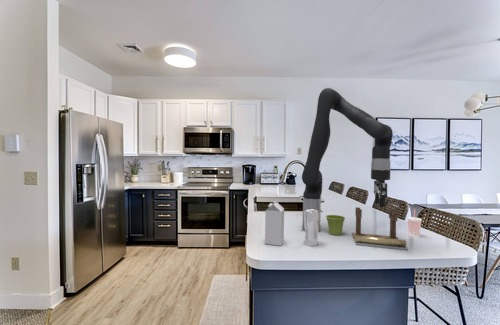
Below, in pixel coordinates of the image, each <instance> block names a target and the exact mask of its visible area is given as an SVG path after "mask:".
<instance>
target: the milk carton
mask: <svg viewBox="0 0 500 325" xmlns="http://www.w3.org/2000/svg"><path fill="white" fill-rule="evenodd" d="M267 207H268V208H267V209H265V218H264V220H265V221H264V222H265V223H264V224H265V226H264V244H265V245H270V246H277V247H278V246H282V245H283V243H284V241H285V240H284V239H285V238H284V237H285V235H284V234H285V208H284V207H283V206H282V205H281V204H279V202H278V200H277V199H276V200H274V201H273V202H270V203H269V204H268V205H267Z"/></svg>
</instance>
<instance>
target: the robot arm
mask: <svg viewBox="0 0 500 325" xmlns="http://www.w3.org/2000/svg"><path fill="white" fill-rule="evenodd" d="M331 110H333V111H335V112H338V113H339V114H342V115H343V116H344V117H345V118H347V120H349V121H350V122H351V123H352V124H354V125H356V126H357V127H358V128H360V129H361V130H362V131H364V132H365V133H366V134H368V136H370V137H371V138H373V139H375V143H374V146H373V147H372V150H371V164H370V179H371V180H373V194H374V203H375V204H376V205H378V206H379V208H385V207H386V199H387V198H388V183H387V182H386V181H389V180H391V146H392V142H393V141H392V140H393V134H394V132H393V129H392V127H391V126H390V125H388V124H385V123H382V122H381V121H379V120H377V119H375V118H374V116H372V115H371V114H369V113H367V111H364V110H363V109H361V108H360V107H357V106H355V105H353V104H351V103H350V102H349V101H348V100H347V99H345V97H343V96H342V95H341V93H339V92H338V91H336V90H335V89H333V88H331V87H326V88H323V89H322V90H321V91H320V93H319V95H318V98H317V107H316V114H315V119H314V124H313V129H312V133H311V137H310V142H309V148H308V151H307V158H306V161H305V165H304V168H303V171H302V174H301V179H302V180H301V181H302V183H303V184H304V185H305V188H304V191H303V193H302V194H303V195H302V200H303V201H302V203H303V204H302V231H305V228H304V210H306V209H315V210H319V214H320V219H321V210H322V208H321V207H322V206H321V202H322V200H321V199H322V192H323V175H322V174H323V173H322V172H321V171H320V167H321V166H320V165H321V161H322V159H323V157H324V155H325V153H326V151H327V149H328V146H329V142H330V137H331V123H330V114H331ZM318 232H321V223H320V224H319V230H318Z"/></svg>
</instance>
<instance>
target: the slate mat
mask: <svg viewBox="0 0 500 325" xmlns="http://www.w3.org/2000/svg"><path fill="white" fill-rule="evenodd" d="M353 242H354V244H355V246H362V247H372V248H379V249H380V248H381V249H390V250H398V251H399V250H400V251H408V248H407V246H406V247H399V246H389V245H380V244H370V243H361V242H355V239H353Z"/></svg>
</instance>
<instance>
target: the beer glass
mask: <svg viewBox="0 0 500 325" xmlns="http://www.w3.org/2000/svg"><path fill="white" fill-rule="evenodd" d="M319 224H320V225H321V218H320V214H319V210H315V209H306V210H304V228H305V230H304V234H305V237H304V244H305V245H306V246H308V247H317V246H319V238H318V236H319V231H318V230H319Z"/></svg>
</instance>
